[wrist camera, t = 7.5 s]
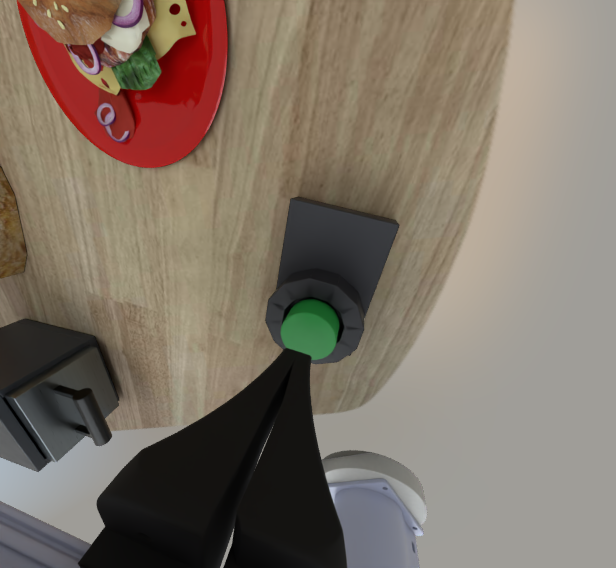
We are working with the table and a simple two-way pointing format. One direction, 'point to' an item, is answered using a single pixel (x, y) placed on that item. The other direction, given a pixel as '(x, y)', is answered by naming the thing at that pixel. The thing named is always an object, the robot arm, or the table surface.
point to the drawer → (66, 404)
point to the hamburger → (132, 71)
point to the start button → (311, 328)
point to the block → (330, 267)
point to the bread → (10, 233)
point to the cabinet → (25, 366)
